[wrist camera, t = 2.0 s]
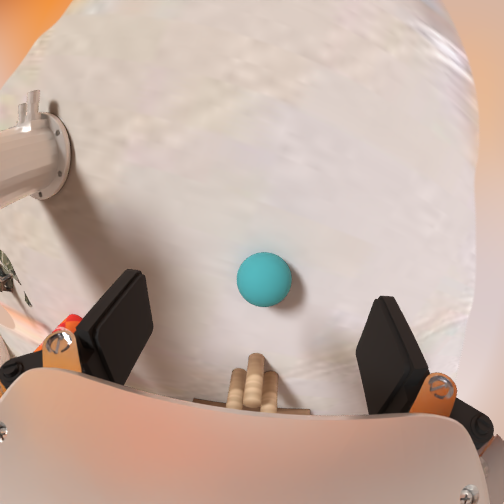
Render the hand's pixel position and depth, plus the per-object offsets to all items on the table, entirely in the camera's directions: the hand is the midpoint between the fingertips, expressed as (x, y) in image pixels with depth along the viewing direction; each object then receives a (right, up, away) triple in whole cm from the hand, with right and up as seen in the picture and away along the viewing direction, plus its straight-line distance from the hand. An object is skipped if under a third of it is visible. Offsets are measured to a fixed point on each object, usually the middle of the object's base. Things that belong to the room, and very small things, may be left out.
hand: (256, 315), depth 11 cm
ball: (+1, -1, +20) cm, 20 cm away
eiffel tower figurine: (-51, -2, +30) cm, 59 cm away
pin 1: (-2, -17, +32) cm, 36 cm away
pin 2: (+3, -17, +31) cm, 36 cm away
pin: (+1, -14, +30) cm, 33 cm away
